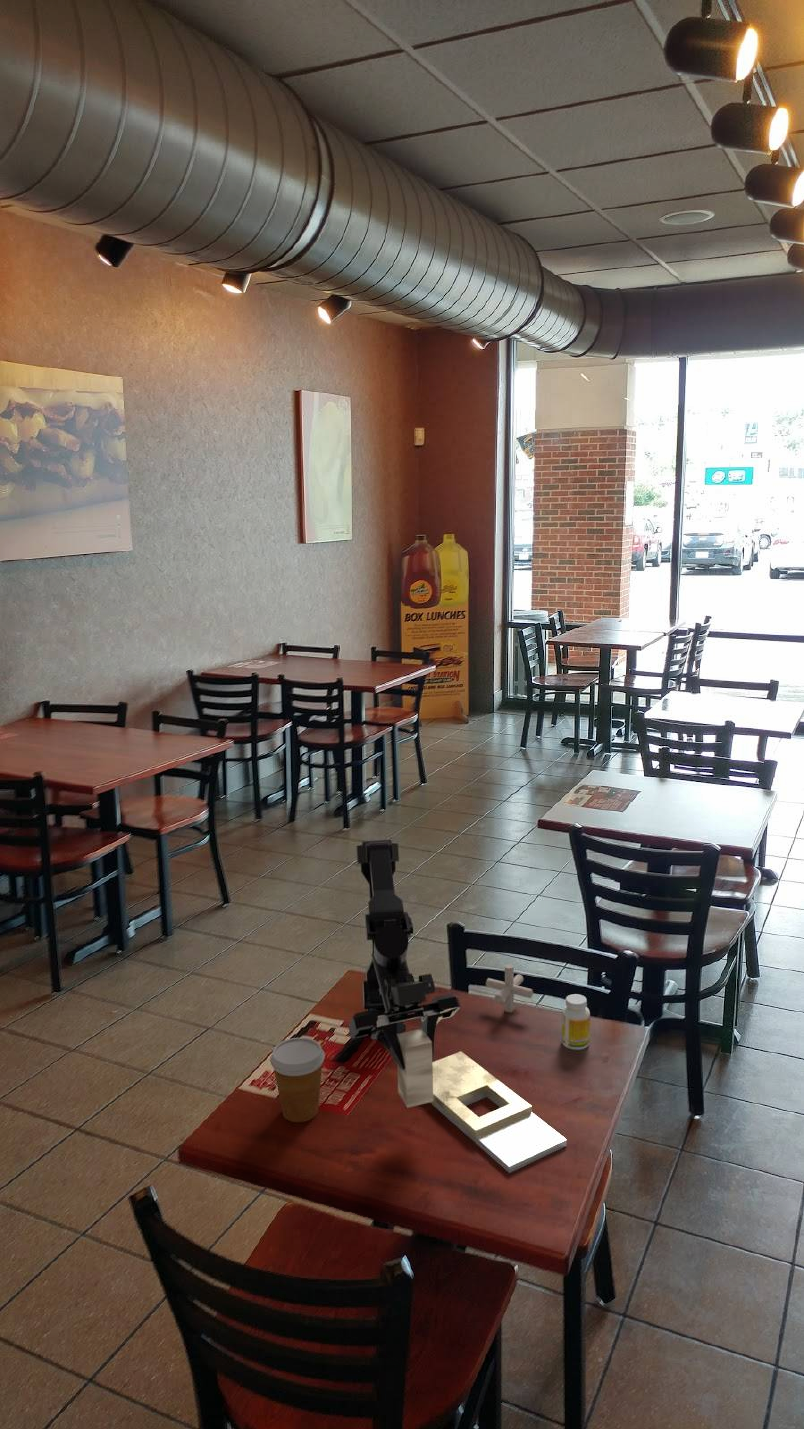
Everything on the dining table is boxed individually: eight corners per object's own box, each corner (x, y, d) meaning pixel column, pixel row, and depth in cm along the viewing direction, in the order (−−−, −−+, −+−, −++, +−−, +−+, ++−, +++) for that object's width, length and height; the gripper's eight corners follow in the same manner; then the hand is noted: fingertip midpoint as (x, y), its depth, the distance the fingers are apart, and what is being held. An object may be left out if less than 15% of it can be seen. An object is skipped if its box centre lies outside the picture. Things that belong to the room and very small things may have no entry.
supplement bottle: (556, 1042, 195) (556, 998, 193) (574, 1033, 198) (574, 989, 196) (577, 1054, 191) (577, 1008, 189) (595, 1043, 194) (595, 999, 192)
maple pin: (398, 1092, 169) (396, 1034, 166) (423, 1086, 170) (422, 1028, 168) (407, 1107, 165) (405, 1047, 162) (433, 1101, 166) (431, 1042, 164)
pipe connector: (520, 1027, 201) (520, 981, 199) (477, 1014, 206) (476, 970, 204) (541, 1005, 209) (541, 961, 207) (498, 994, 215) (498, 951, 212)
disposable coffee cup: (264, 1122, 173) (260, 1060, 170) (288, 1091, 182) (285, 1032, 179) (313, 1132, 170) (310, 1069, 167) (336, 1101, 178) (333, 1040, 176)
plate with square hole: (408, 1083, 183) (407, 1071, 182) (461, 1062, 189) (461, 1051, 189) (509, 1173, 158) (509, 1159, 158) (566, 1145, 164) (566, 1132, 164)
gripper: (350, 970, 163) (373, 1065, 155) (455, 949, 169) (482, 1040, 161) (339, 991, 172) (360, 1083, 164) (439, 971, 178) (464, 1059, 170)
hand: (417, 1066), depth 165 cm, fingers closed on maple pin, 5 cm apart
